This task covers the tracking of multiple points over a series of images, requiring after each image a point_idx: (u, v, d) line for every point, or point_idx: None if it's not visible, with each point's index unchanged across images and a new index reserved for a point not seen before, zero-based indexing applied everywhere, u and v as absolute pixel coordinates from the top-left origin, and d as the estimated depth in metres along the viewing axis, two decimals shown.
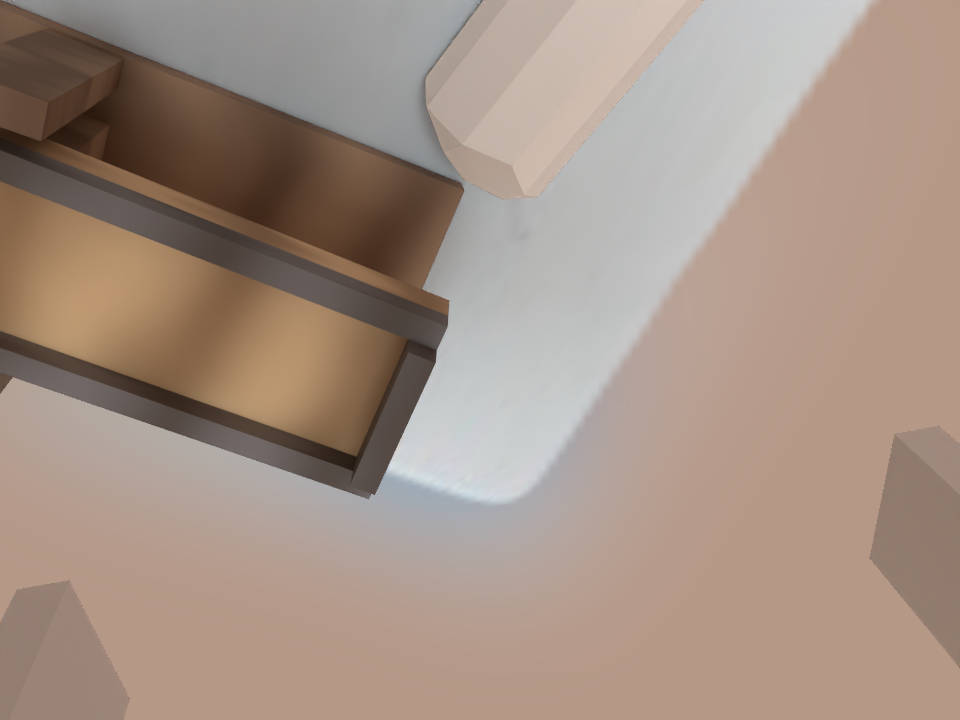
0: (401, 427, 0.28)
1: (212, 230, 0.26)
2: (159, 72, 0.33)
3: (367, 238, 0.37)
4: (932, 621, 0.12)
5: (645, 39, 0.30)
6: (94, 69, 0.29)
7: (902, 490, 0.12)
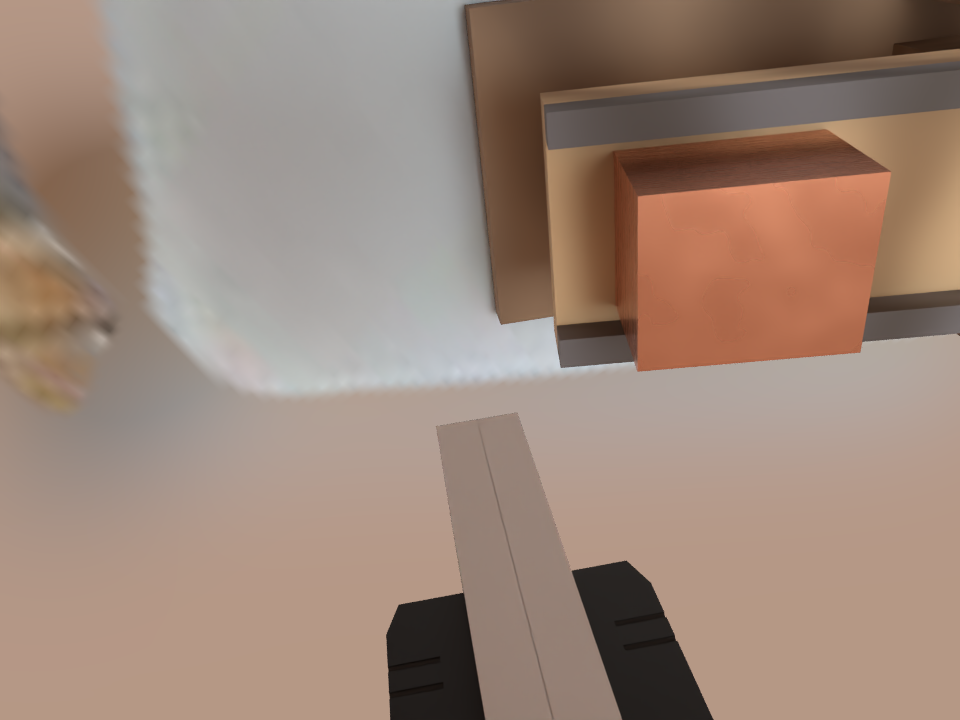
0: None
1: None
2: None
3: None
4: None
5: None
6: None
7: None
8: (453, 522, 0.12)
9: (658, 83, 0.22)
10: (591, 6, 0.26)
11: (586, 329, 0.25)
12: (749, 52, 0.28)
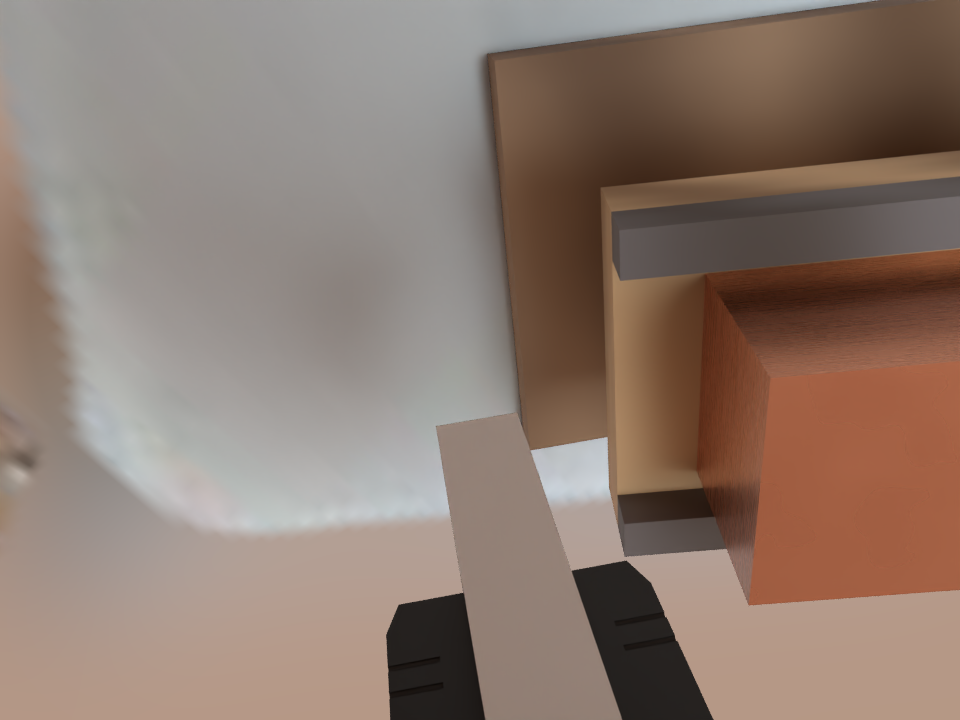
0: None
1: None
2: None
3: None
4: None
5: None
6: None
7: None
8: (453, 522, 0.12)
9: (772, 176, 0.15)
10: (657, 56, 0.20)
11: (659, 504, 0.18)
12: (861, 112, 0.21)
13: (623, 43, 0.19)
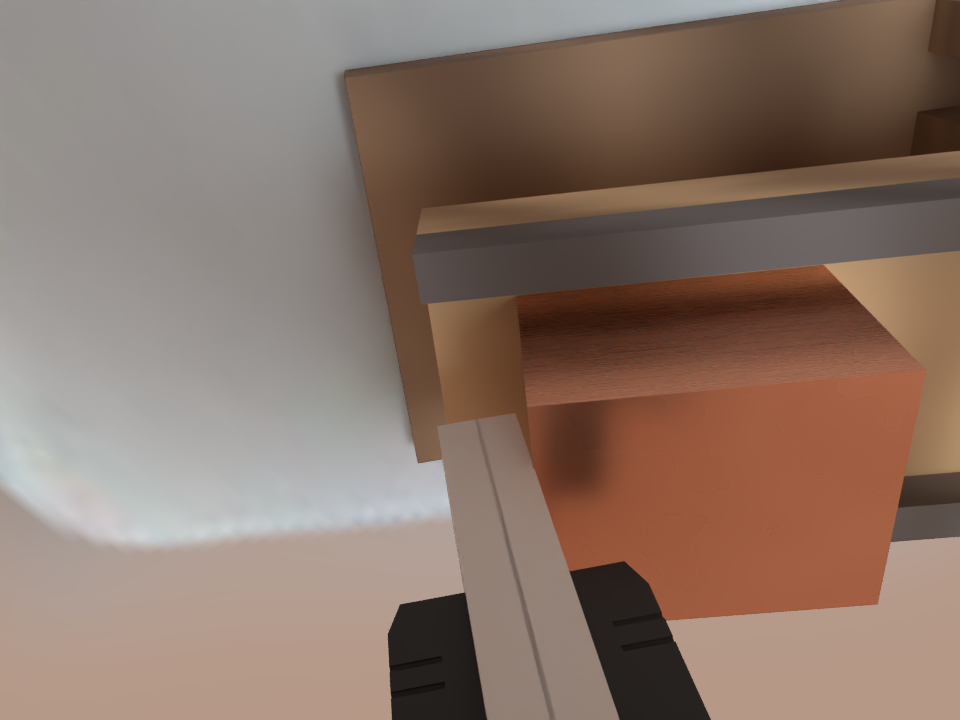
0: None
1: None
2: None
3: None
4: None
5: None
6: None
7: None
8: (454, 522, 0.12)
9: (587, 197, 0.15)
10: (511, 72, 0.20)
11: None
12: (726, 126, 0.21)
13: (475, 60, 0.19)
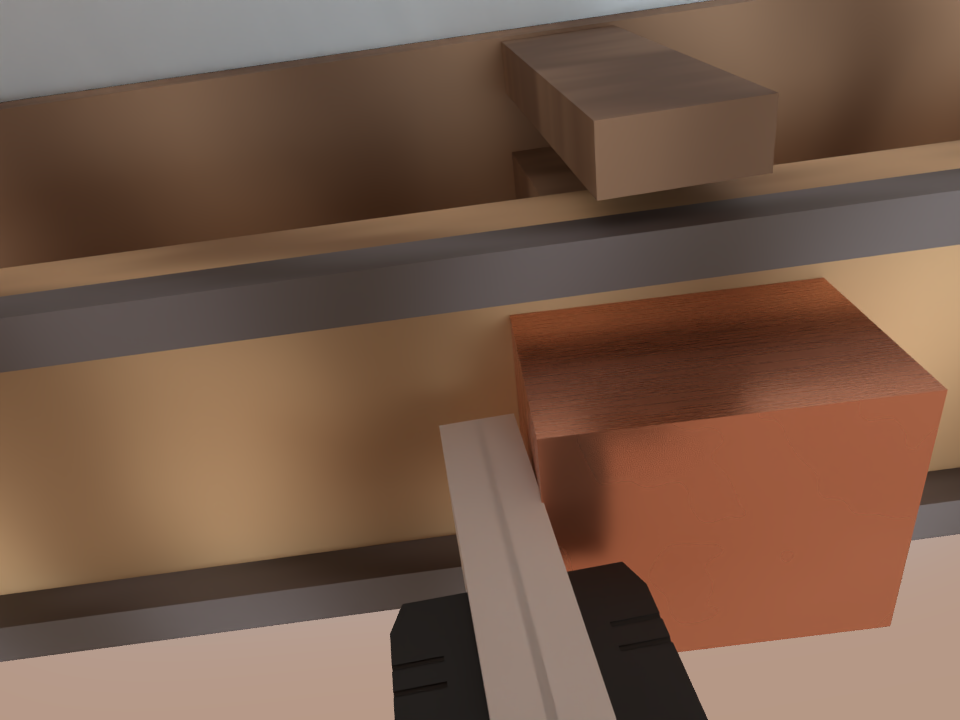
0: None
1: None
2: (665, 17, 0.20)
3: None
4: None
5: None
6: (647, 44, 0.17)
7: None
8: (456, 521, 0.12)
9: None
10: (64, 118, 0.20)
11: None
12: (310, 168, 0.21)
13: (22, 106, 0.19)
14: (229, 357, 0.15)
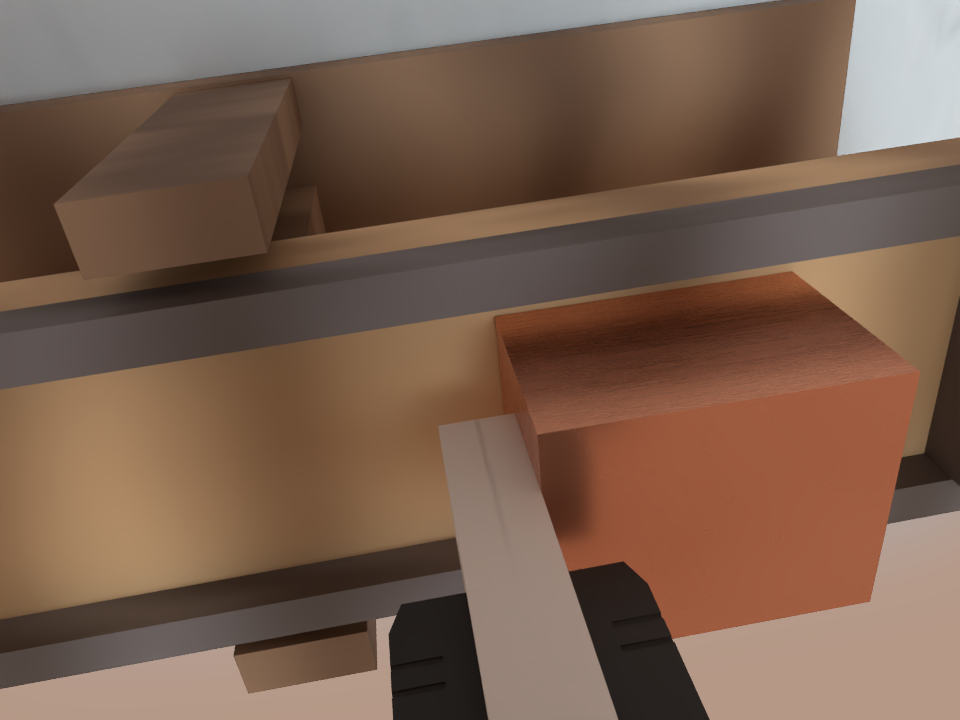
0: None
1: (619, 231, 0.14)
2: (345, 69, 0.20)
3: (727, 156, 0.23)
4: None
5: None
6: (270, 104, 0.17)
7: None
8: (455, 522, 0.12)
9: None
10: None
11: None
12: None
13: None
14: None
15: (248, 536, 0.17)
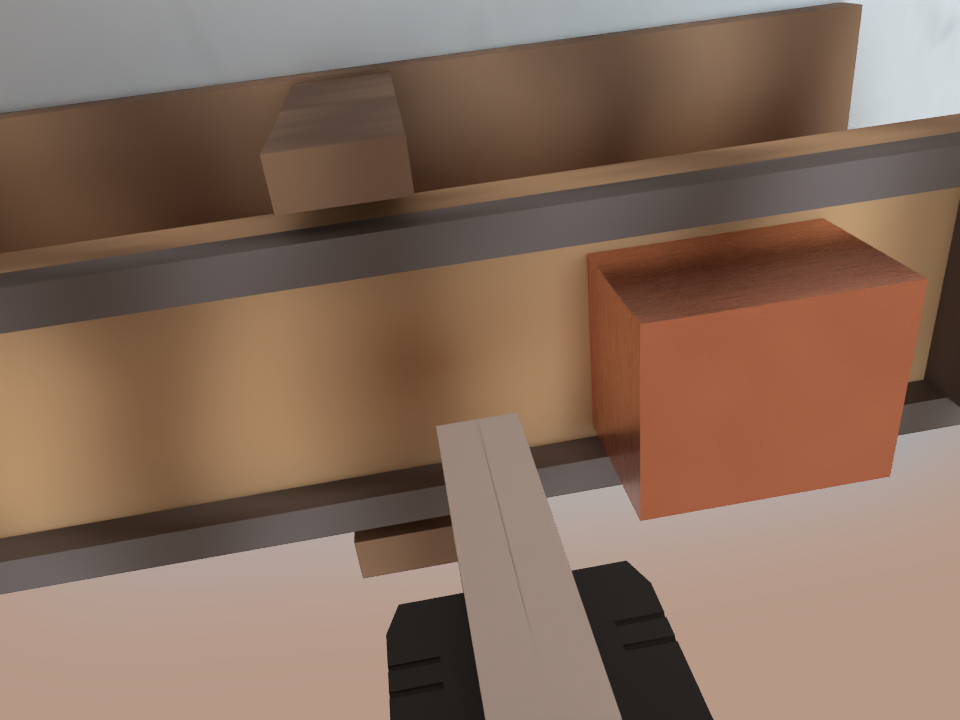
0: None
1: (683, 182, 0.17)
2: (434, 64, 0.24)
3: (752, 141, 0.27)
4: None
5: None
6: (386, 90, 0.21)
7: None
8: (453, 522, 0.12)
9: None
10: None
11: None
12: (137, 189, 0.25)
13: None
14: (1, 351, 0.18)
15: (370, 440, 0.20)
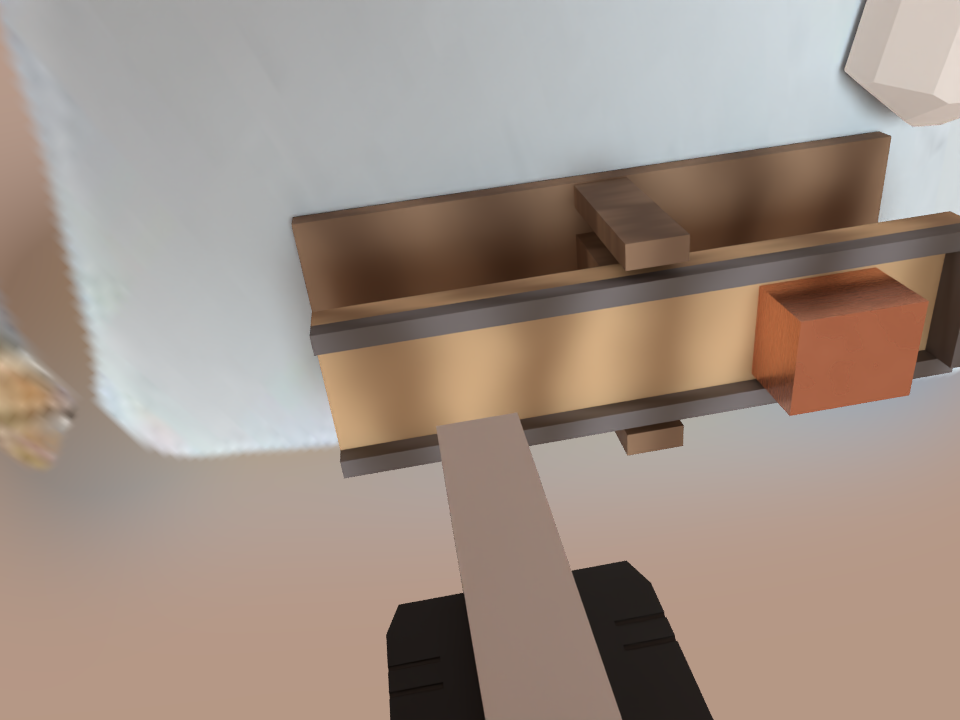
0: None
1: (812, 253, 0.36)
2: (651, 173, 0.43)
3: (825, 211, 0.46)
4: None
5: None
6: (643, 196, 0.40)
7: None
8: (453, 522, 0.12)
9: (383, 304, 0.36)
10: (370, 220, 0.42)
11: (358, 452, 0.38)
12: (479, 242, 0.43)
13: (352, 215, 0.42)
14: (480, 334, 0.36)
15: (640, 380, 0.39)
